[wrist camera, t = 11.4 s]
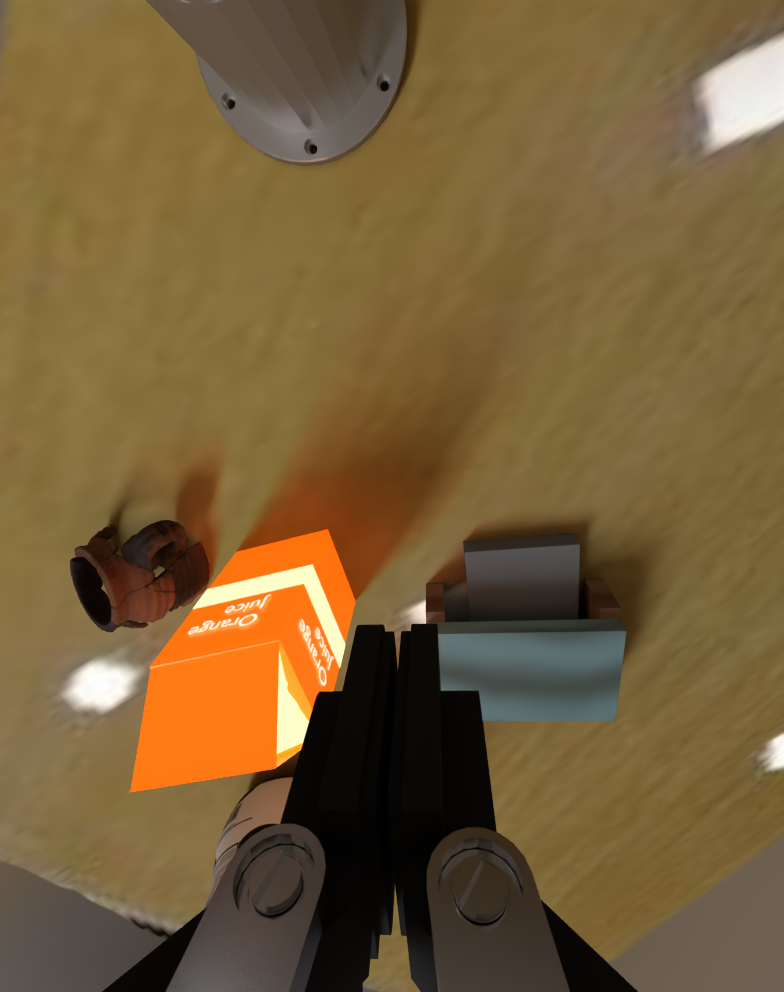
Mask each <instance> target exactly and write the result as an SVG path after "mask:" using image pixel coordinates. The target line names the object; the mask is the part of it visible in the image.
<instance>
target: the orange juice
mask: <svg viewBox="0 0 784 992" xmlns="http://www.w3.org/2000/svg"><path fill="white" fill-rule="evenodd" d="M354 605H355V599H354V596H353V594H352V591H351V588H350V586H349V583H348V581H347V578H346V575H345V573H344V570H343V568H342V565H341V562H340V560H339V557H338V555H337V552H336V549H335V547H334V544H333V542H332V539H331V536H330V534H329V531H328V529H327V530H323V531H319V532H315V533H311V534H307V535H303V536H299V537H295V538H291V539H287V540H283V541H279V542H275V543H271V544H267V545H263V546H259V547H255V548H251V549H247V550H243V551H239V552H236V553H235V554H234V556H233V557H232V558H231V560H230V561H229V562H228V564H227V565H226V566H225V568H224V569H223V570H222V572H221V573H220V574H219V576H218V577H217V578H216V580H215V581H214V582H213V584H212V585H211V586H210V588H209V589H207V590H206V592H205V593H204V594H203V596H202V597H201V598H200V600H199V601H198V602H197V604H196V605H195V606H194V608H193V610H192V611H191V613H190V614H189V615H188V617H187V618H186V619H185V621H184V622H183V623H182V625H181V626H180V627H179V629H178V630H177V631H176V633H175V634H174V635H173V637H172V638H171V639H170V641H169V642H168V643H167V645H166V646H165V647H164V649H163V650H162V651H161V653H160V654H159V655H158V657H157V658H156V659H155V660H154V662H152V664H151V666H150V669H151V672H150V678H149V684H148V690H147V696H146V702H145V708H144V714H143V720H142V726H141V732H140V738H139V744H138V750H137V756H136V762H135V768H134V774H133V780H132V786H131V791H130V792H134V791H141V790H147V789H153V788H159V787H165V786H172V785H178V784H184V783H190V782H196V781H202V780H209V779H215V778H221V777H227V776H233V775H240V774H246V773H252V772H258V771H264V770H271V769H275V768H277V767H278V766H279V765H281V764H282V763H284V762H285V761H286V760H288V759H289V758H290V757H292V756H293V755H294V754H296V753H297V752H299V751H300V750H301V748H302V744H303V741H304V737H305V734H306V730H307V727H308V723H309V720H310V716H311V712H312V709H313V705H314V702H315V699H316V696H317V694H318V693H319V692H320V691H334V687H335V683H336V679H337V675H338V671H339V668H340V666H341V662H342V657H343V653H344V649H345V642H346V638H347V634H348V630H349V626H350V622H351V617H352V613H353V609H354Z"/></svg>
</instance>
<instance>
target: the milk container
mask: <svg viewBox="0 0 784 992" xmlns="http://www.w3.org/2000/svg"><path fill="white" fill-rule="evenodd" d="M293 776H294V775H289V776H284V777H279V778H274V779H270V780H267V781H264V782H262V783H261V784H259V785H257V786H256V787H254V788H253V789H251V790H250V791H249V792H248V793H247V794H245V795H244V796H243V797H242V799H241V800H240V801H239V802H238V804H237V805H236V807H235V809H234V810H233V812H232V814H231V815H230V817H229V819H228V821H227V823H226V825H225V827H224V829H223V832H222V834H221V837H220V840H219V844H218V847H217V852H216V858H215V865H214V873H213V881H212V886H211V890H210V893H209V896H208V899H207V902H206V905H205V907H204V909H205V908H206V907H208V905H209V903H210V901H211V898H212V896H213V894H214V892H215V890H216V888H217V886H218V884H219V882H220V880H221V878H222V876H223V874H224V872H225V870H226V868H227V866H228V864H229V863H230V861H231V859H232V858H233V856H234V855H235V853H236V852H237V850H238V849H239V848H240V847H241V846H242V845H243V844H244V843H245V842H246V841H247V840H248V839H249V838H250V837H251V836H253V835H255V834H256V833H258V832H260V831H261V830H263V829H265V828H267V827H271V826H274V825H278V824H280V822H281V818H282V815H283V811H284V808H285V804H286V801H287V797H288V794H289V790H290V787H291V783H292V780H293ZM363 984H364V982H363V983H362V984H361V985H360V986H359V987H358V989H357V990H356V991H355V992H363Z"/></svg>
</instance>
